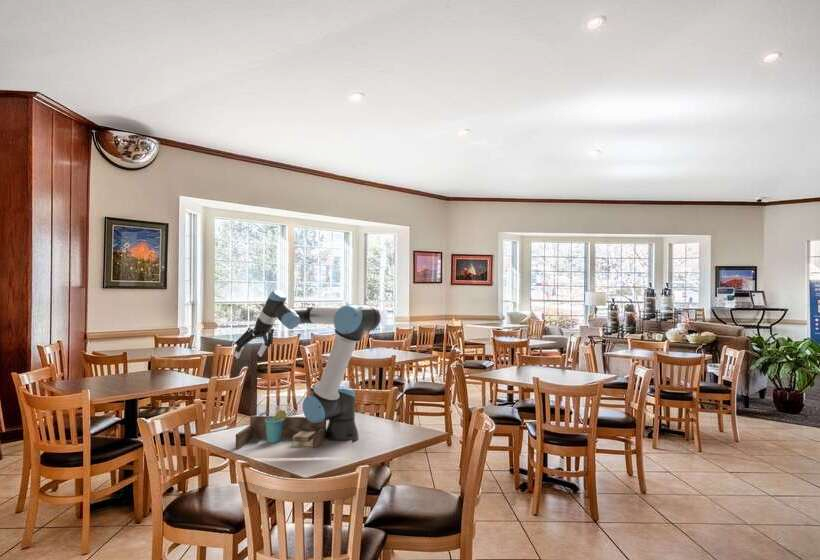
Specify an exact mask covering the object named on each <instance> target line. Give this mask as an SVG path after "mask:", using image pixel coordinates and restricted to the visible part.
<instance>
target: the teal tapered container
mask: <svg viewBox="0 0 820 560" xmlns="http://www.w3.org/2000/svg"><path fill="white" fill-rule="evenodd" d="M264 415H265V416H267V419H266V420H265V423H266V434H267V437H266V443H268V444H278V443H280V442H281V438H282V437H281V428H282V422H283V421H284V420H285V418H286V417H287V413H286V411H285V410H282V409H280V410H278V411H277V412H276V414H275V417H273V418H269V416H270V414H269V412H268V411H266V410H265V411H264V412H263V411H262V413H259V416H264Z"/></svg>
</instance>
